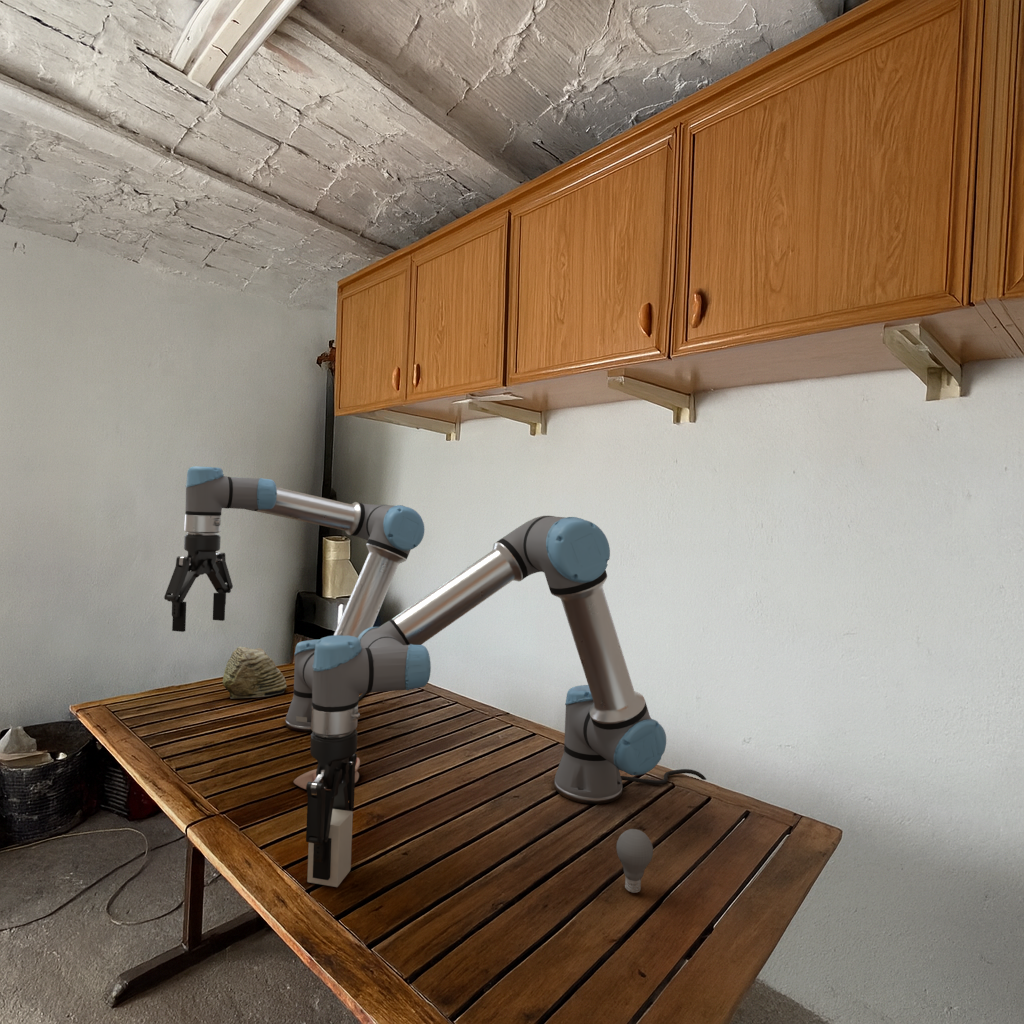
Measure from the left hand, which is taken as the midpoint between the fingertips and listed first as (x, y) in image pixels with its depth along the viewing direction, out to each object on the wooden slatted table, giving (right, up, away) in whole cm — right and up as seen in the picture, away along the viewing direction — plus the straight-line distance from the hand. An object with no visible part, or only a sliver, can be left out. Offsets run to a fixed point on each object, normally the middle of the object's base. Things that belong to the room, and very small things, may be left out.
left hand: (199, 625), depth 146 cm
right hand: (+42, -33, -40) cm, 67 cm away
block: (+42, -35, -40) cm, 68 cm away
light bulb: (+92, -37, -41) cm, 108 cm away
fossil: (-8, -31, +52) cm, 61 cm away
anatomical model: (+31, -34, -5) cm, 46 cm away
